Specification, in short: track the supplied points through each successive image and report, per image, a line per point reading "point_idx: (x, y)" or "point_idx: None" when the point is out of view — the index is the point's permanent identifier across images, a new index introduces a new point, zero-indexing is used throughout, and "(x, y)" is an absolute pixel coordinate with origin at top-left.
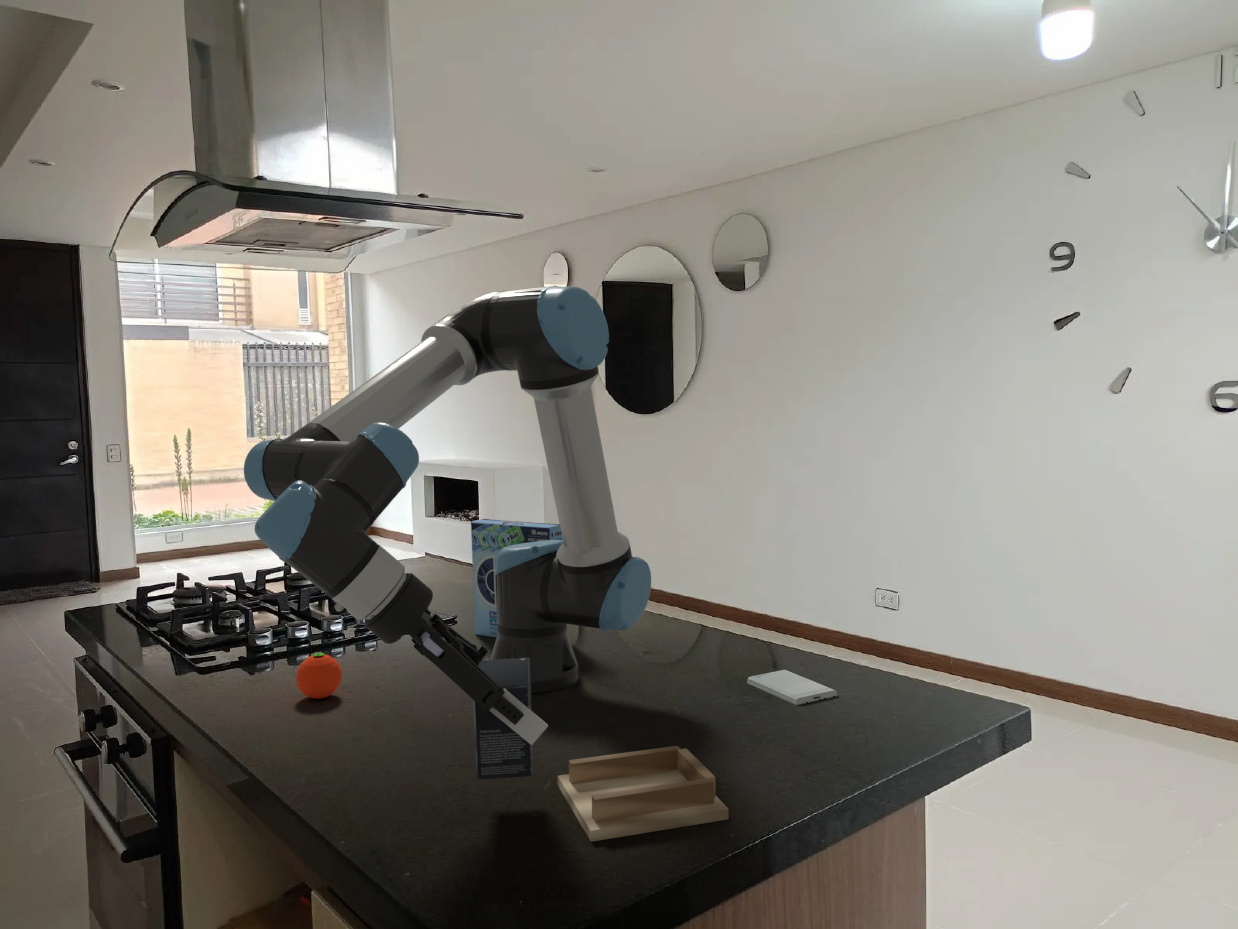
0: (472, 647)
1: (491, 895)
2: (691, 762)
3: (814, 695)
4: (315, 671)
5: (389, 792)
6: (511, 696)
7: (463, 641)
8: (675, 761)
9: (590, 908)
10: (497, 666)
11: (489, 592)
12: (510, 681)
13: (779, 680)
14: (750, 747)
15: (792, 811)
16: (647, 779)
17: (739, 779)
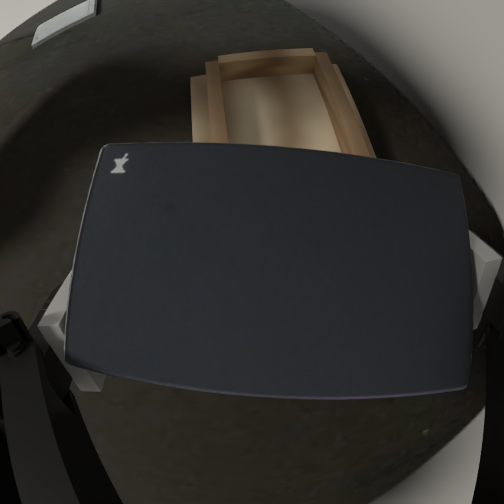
0: (9, 393)
1: (479, 327)
2: (264, 56)
3: (94, 4)
4: None
5: (175, 481)
6: (482, 243)
7: (28, 469)
8: (220, 75)
9: (495, 229)
10: (186, 285)
11: None
12: (431, 231)
13: (53, 25)
14: (165, 35)
15: (319, 33)
16: (243, 111)
17: (240, 47)
